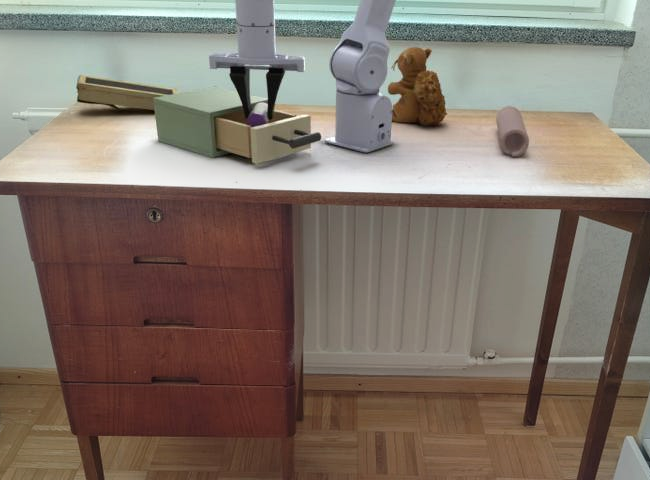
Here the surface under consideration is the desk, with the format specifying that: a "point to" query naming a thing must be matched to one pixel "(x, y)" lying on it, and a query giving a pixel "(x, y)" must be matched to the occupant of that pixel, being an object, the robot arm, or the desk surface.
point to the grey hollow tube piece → (512, 131)
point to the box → (119, 92)
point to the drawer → (264, 135)
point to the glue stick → (258, 115)
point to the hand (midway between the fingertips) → (259, 117)
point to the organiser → (196, 117)
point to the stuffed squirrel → (417, 90)
